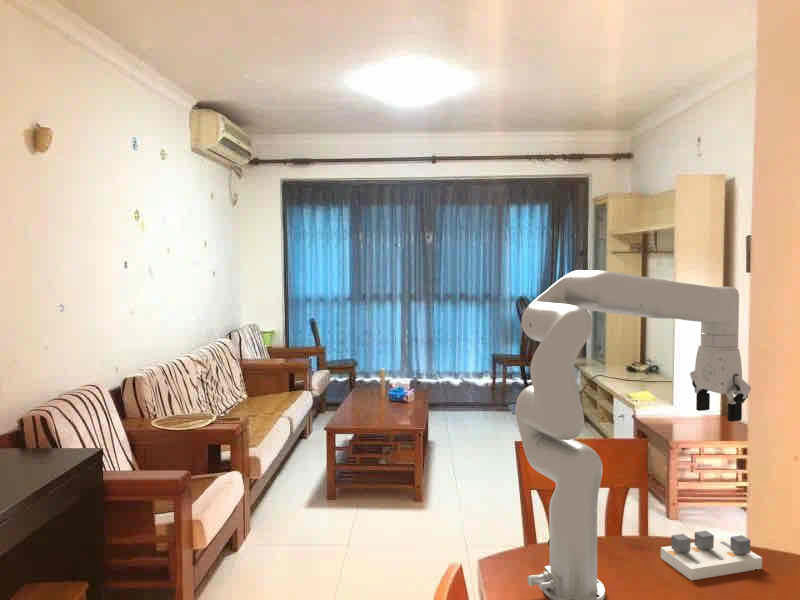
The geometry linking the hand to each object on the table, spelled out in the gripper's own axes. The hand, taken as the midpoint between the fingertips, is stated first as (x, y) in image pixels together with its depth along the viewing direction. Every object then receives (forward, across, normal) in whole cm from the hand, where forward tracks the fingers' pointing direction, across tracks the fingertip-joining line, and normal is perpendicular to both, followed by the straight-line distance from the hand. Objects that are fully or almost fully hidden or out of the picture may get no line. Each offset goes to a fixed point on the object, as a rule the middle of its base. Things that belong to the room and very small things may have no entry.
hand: (718, 415), depth 138 cm
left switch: (+29, +2, -11) cm, 31 cm away
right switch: (+29, +6, +1) cm, 30 cm away
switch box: (+32, +4, -5) cm, 33 cm away
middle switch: (+29, +2, -5) cm, 30 cm away
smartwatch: (+32, -9, -35) cm, 49 cm away
